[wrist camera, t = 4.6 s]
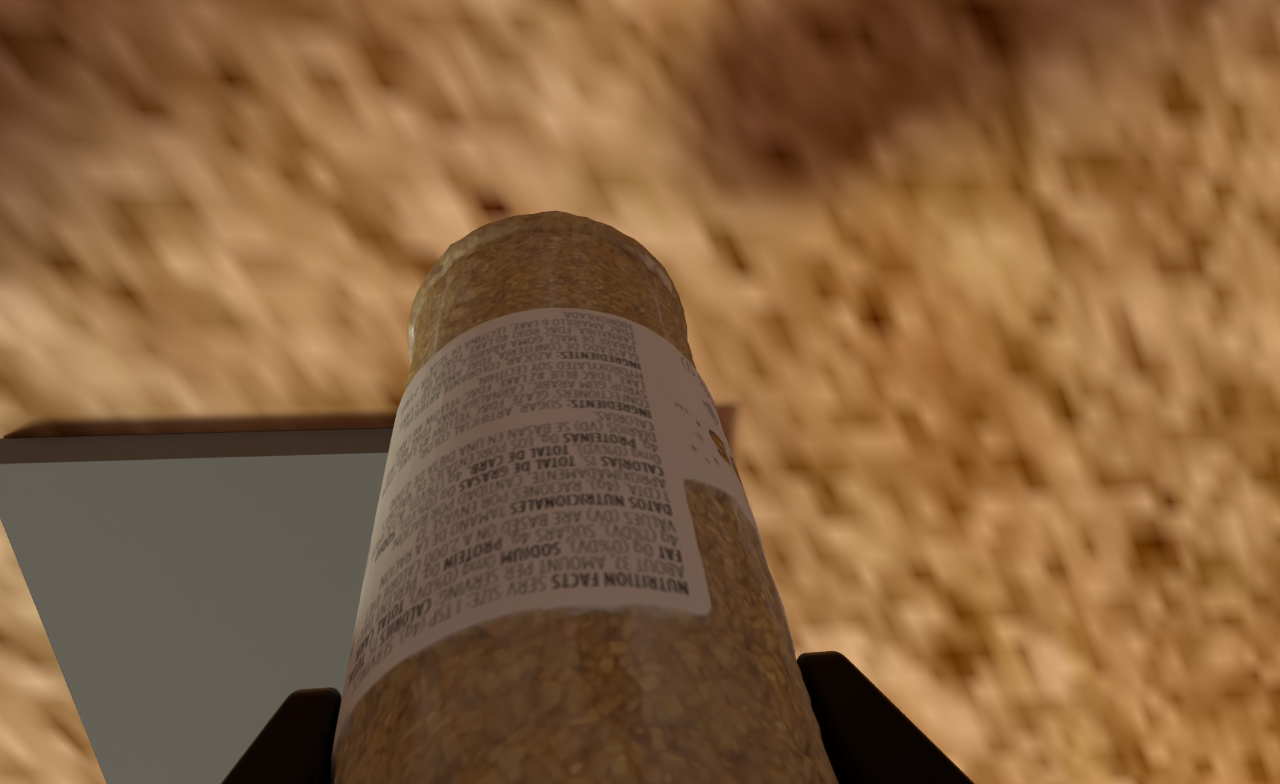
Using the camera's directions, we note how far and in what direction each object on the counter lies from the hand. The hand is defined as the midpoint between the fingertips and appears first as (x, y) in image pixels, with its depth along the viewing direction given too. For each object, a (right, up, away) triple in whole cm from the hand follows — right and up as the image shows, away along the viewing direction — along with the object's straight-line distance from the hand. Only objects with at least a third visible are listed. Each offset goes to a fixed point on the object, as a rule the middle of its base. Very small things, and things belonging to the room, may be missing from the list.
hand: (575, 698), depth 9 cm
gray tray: (-6, -3, +16) cm, 18 cm away
